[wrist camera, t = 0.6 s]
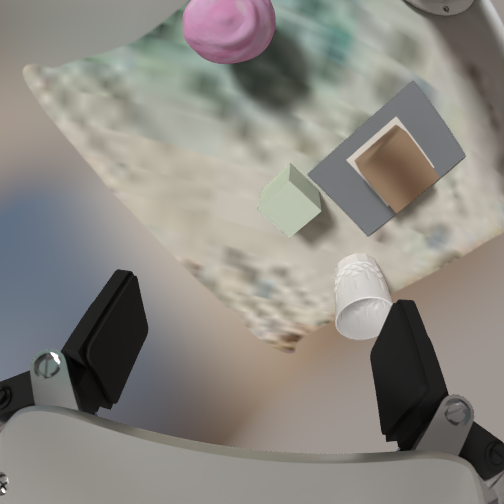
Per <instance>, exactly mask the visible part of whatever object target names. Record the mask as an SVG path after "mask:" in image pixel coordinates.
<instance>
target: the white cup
mask: <svg viewBox="0 0 504 504" xmlns="http://www.w3.org/2000/svg"><path fill="white" fill-rule="evenodd" d="M392 304H393V301H392V298H391V295H390V293H389V290H388V287H387V284H386V282H385V280H384V277H383V275H382V273H381V271H380V268H379V266H378V264H377V262H376V261H375V259H374V258H373V257H371V256H369V255H367V254H361V253H355V254H352V255H349V256H346V257H345V258H344V259H342V260H341V261H340V262H339V263H338V265H337V267H336V269H335V324H336V328H337V330H338V331H339V333H340V334H342V335H343V336H344V337H346V338H349V339H353V340H368V339H372V338H375V337H378V336H379V333H380V331H381V329H382V327H383V325H384V322H385V320H386V318H387V315H388V313H389V311H390V308H391V306H392Z"/></svg>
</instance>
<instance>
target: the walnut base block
mask: <svg viewBox="0 0 504 504" xmlns="http://www.w3.org/2000/svg"><path fill="white" fill-rule="evenodd" d="M354 161H355V163H356V165H357V167H358V168H359V170H360V172H361V173H362V174H363V175H364V176H365V178H366V179H367V180H368V181H369V182H370V183H371V184H372V185H373V187H374V188H375V189H376V190H377V191H378V192H379V194H380V195H381V196H382V197H383V198H384V199H385V201H386V202H387V203H388V204H389V205H390V207H391V208H392V209H393V210H394V211H395V213H396V214H397V213H398V212H399V211H400V210H402V209H403V208H404V207H405V206H407V205H408V204H409V203H410V202H411V201H413V200H414V199H415V198H416V197H418V196H419V195H420V194H421V193H422V192H424V191H425V190H426V189H427V188H428V187H430V186H431V185H432V184H433V183H434V182H436V181H437V180H438V179H439V178H440V177H439V176H438V174H437V173H436V172H435V170H434V169H433V167H432V166H431V164H430V163H429V161H428V160H427V159H426V157H425V156H424V154H423V153H422V152H421V150H420V149H419V148H418V146H417V145H416V144H415V142H414V141H413V140H412V138H411V137H410V136H409V134H408V133H407V132H406V131H405V130H403V129H402V128H400V127H399V126H398V125H394V126H393V127H392V128H391V129H390V130H389V131H388V132H386V133H385V134H384V135H383V136H382V137H381V138H380V139H378V140H377V141H376V142H375V143H374V144H373V145H372V146H370V147H369V148H368V149H367V150H366V151H365V152H363V153H362V154H361V155H360V156H359V157H358V158H357V159H355V160H354Z"/></svg>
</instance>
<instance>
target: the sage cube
mask: <svg viewBox="0 0 504 504" xmlns="http://www.w3.org/2000/svg"><path fill="white" fill-rule="evenodd" d="M258 211H259V212H260V213H261V214H262V215H264V216H265V217H266V218H267V219H268V220H269V221H271V222H272V223H273V224H274V225H275V226H276V227H277V228H279V229H280V230H281V231H282V232H283V233H284V234H286V235H287V236H288V237H289V238H290V237H291V236H292V235H294V234H295V233H296V232H297V231H298V230H300V229H301V228H302V227H303V226H304V225H306V224H307V223H308V222H309V221H310V220H312V219H313V218H314V217H315V216H316V215H317V214H319V213H320V212H321V203H320V196H319V190H318V189H317V188H316V187H315V186H314V185H313V184H312V183H311V182H310V181H309V180H308V179H307V178H306V177H305V176H304V175H303V174H302V173H300V172H299V171H298V170H297V169H296V168H295V167H294V166H293V165H292V164H291V163H290V164H289V165H288V166H287V167H285V168H284V169H283V170H282V171H281V172H280V173H279V174H278V175H277V176H276V177H275V178H274V179H273V180H272V181H271V182H270V183H269V184H268V185H267V186H266V187H265V188H264V189H263V190H262V194H261V198H260V202H259V206H258Z"/></svg>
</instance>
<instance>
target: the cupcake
mask: <svg viewBox="0 0 504 504" xmlns="http://www.w3.org/2000/svg"><path fill="white" fill-rule="evenodd" d="M275 26H276V21H275V11H274V8H273V6H272V4H271V1H270V0H191V1H190V3H189V4H188V5H187V7H186V9H185V11H184V14H183V35H184V38H185V40H186V41H187V43H188V44H189V45H190V46H191V48H193V49H194V50H195V51H196V52H197V53H198V54H199V55H200V56H201V57H202V58H204V59H206V60H208V61H211V62H214V63H219V64H232V63H238V62H242V61H246V60H250V59H252V58H254V57H256V56H258V55H259V54H261V53H262V52H263V51H264V50H265V49H266V48H267V47H268V45H269V44H270V42H271V40H272V37H273V35H274V31H275Z"/></svg>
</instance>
